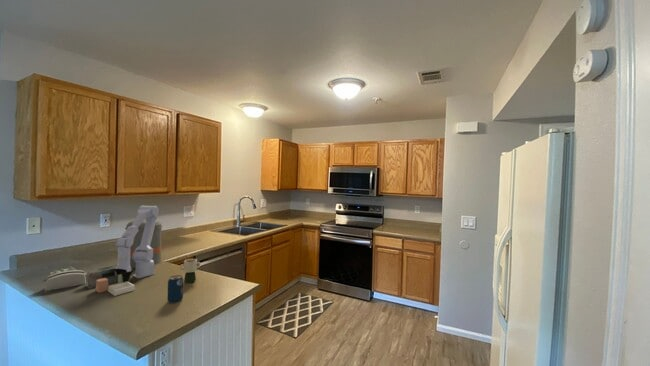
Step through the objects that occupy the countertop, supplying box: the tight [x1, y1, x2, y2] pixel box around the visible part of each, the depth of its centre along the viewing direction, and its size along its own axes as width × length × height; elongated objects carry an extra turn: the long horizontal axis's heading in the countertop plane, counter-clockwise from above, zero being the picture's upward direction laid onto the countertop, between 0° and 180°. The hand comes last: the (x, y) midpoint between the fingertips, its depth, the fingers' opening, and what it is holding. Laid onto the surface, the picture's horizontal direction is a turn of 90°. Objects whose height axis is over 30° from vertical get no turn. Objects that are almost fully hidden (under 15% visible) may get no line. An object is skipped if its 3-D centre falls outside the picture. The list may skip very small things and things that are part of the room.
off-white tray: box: [107, 281, 136, 297], centre depth 146 cm, size 9×9×3 cm
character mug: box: [179, 258, 201, 284], centre depth 161 cm, size 11×7×13 cm, turn 123°
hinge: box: [44, 269, 87, 292], centre depth 149 cm, size 17×5×10 cm, turn 133°
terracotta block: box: [95, 278, 109, 294], centre depth 145 cm, size 4×4×6 cm
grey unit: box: [84, 265, 118, 289], centre depth 157 cm, size 18×6×8 cm, turn 147°
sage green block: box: [117, 274, 123, 284], centre depth 154 cm, size 4×4×6 cm
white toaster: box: [50, 266, 88, 276], centre depth 163 cm, size 14×6×15 cm
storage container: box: [124, 219, 163, 269], centre depth 194 cm, size 22×22×35 cm
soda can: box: [167, 274, 184, 304], centre depth 136 cm, size 7×7×12 cm
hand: (123, 281), depth 153 cm, fingers open, 6 cm apart
